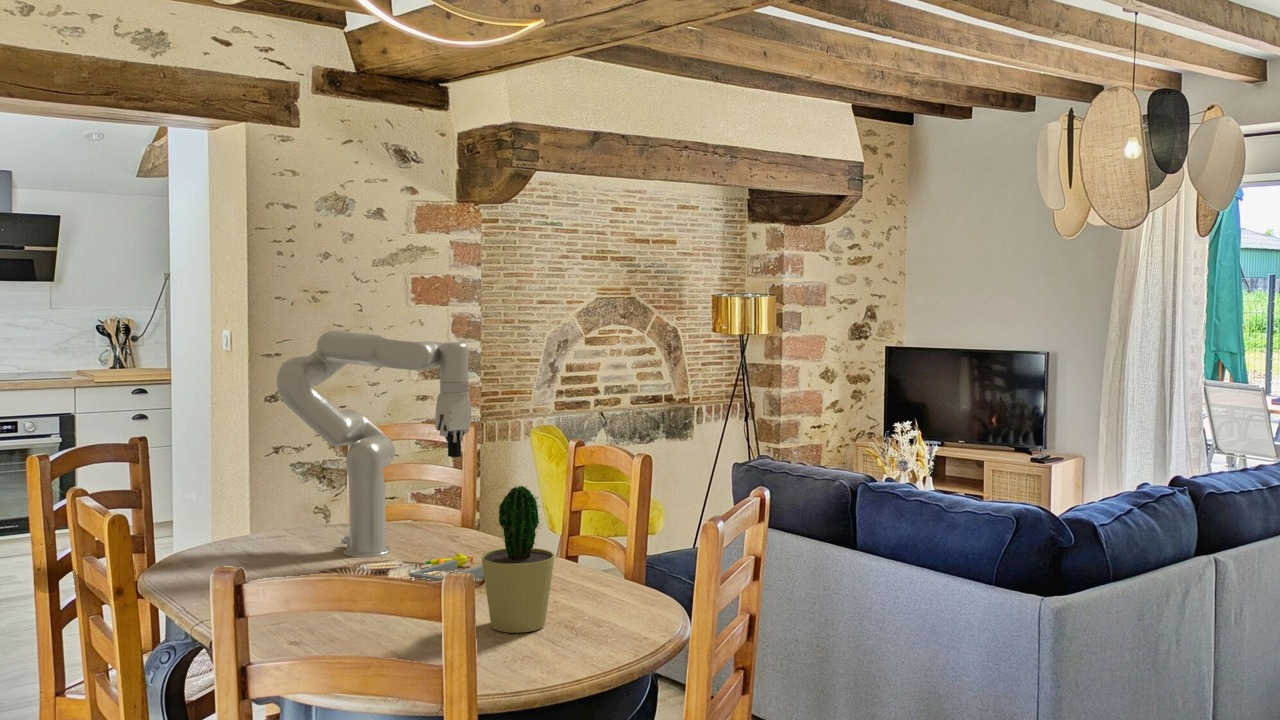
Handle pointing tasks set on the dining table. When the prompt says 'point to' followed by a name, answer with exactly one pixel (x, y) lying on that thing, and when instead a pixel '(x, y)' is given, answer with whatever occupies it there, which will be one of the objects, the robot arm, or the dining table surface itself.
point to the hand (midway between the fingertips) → (454, 456)
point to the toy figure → (458, 557)
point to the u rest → (447, 566)
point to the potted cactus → (518, 568)
